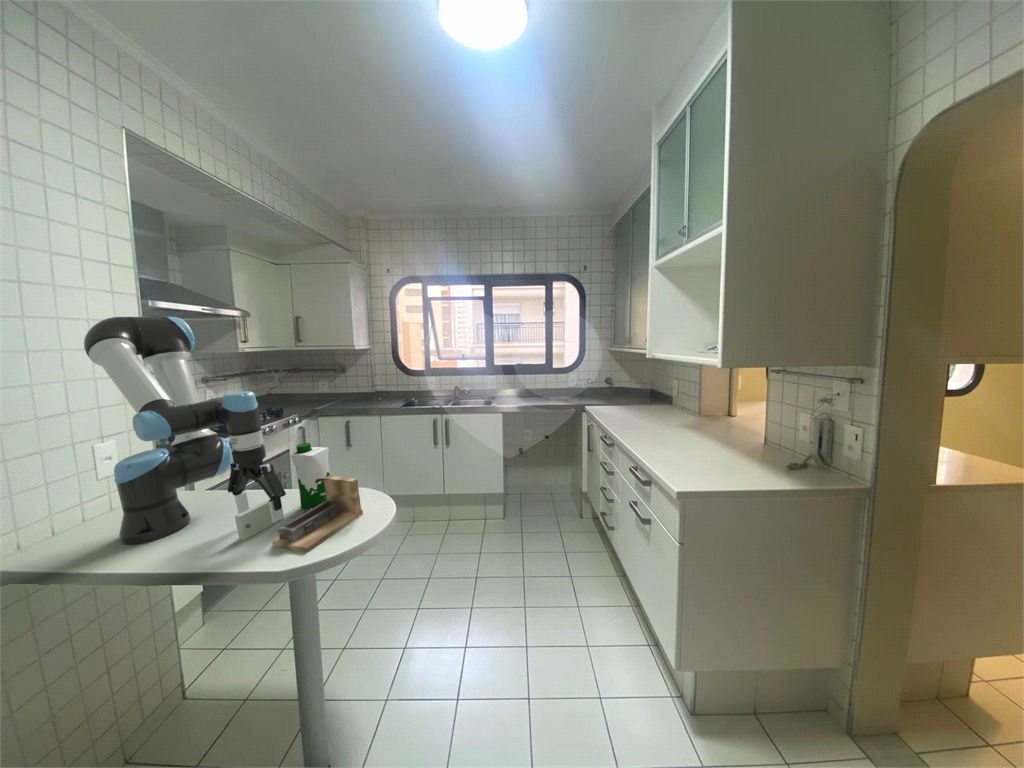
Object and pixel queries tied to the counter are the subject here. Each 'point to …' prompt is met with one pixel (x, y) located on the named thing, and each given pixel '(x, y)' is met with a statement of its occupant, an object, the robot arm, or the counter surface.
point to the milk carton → (311, 474)
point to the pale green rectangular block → (254, 520)
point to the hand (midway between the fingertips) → (260, 517)
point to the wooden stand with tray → (323, 516)
